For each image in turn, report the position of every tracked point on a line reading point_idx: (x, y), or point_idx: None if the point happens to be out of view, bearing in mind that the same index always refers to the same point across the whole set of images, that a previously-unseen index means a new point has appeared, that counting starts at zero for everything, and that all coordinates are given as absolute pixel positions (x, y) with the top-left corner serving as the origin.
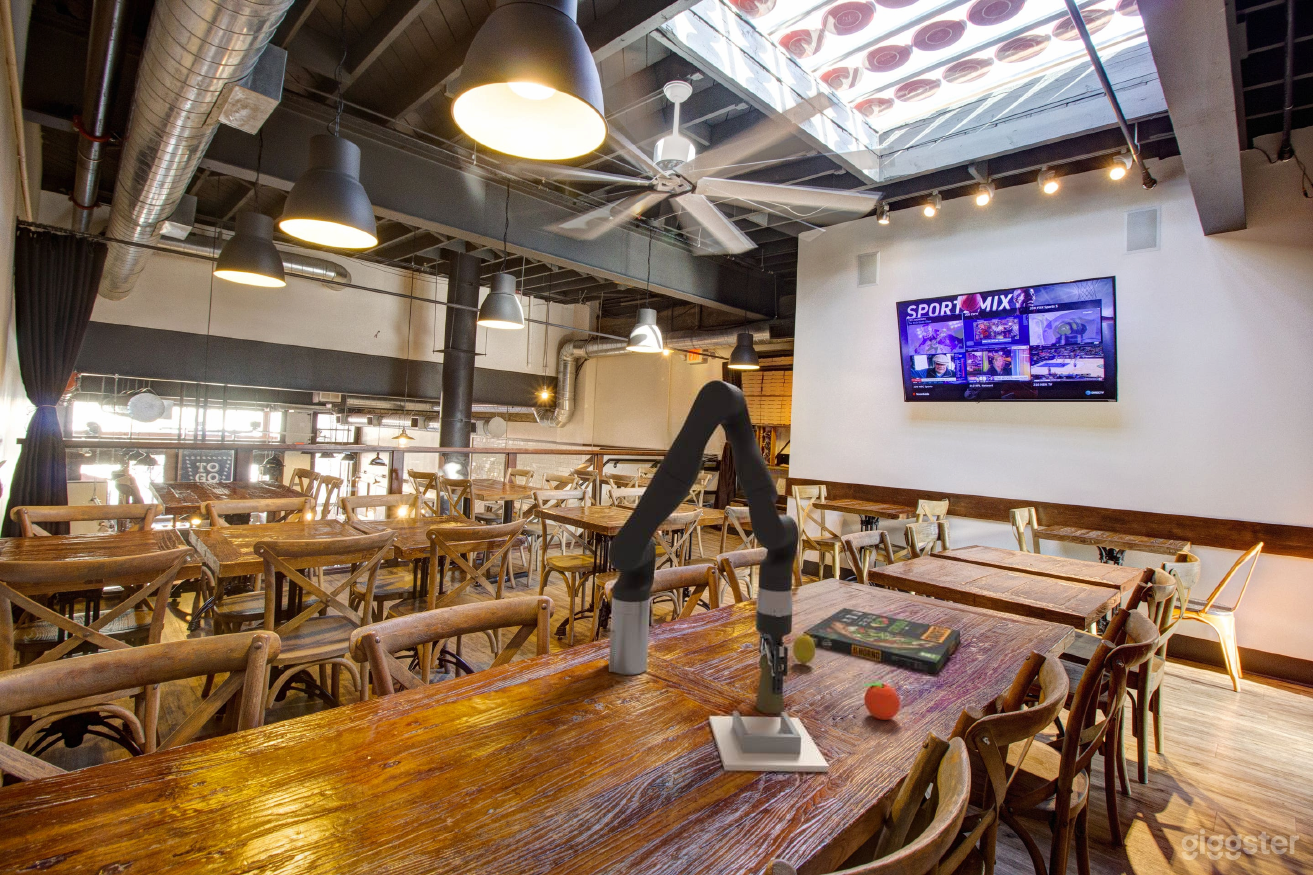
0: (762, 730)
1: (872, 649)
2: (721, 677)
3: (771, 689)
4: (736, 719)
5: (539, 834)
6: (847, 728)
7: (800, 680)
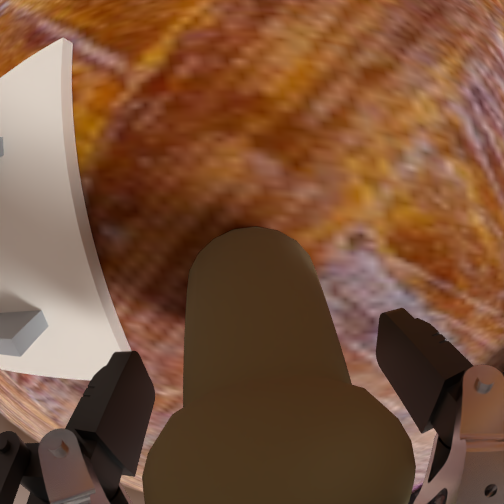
0: (4, 246)
1: None
2: (488, 121)
3: (122, 359)
4: None
5: None
6: None
7: None
